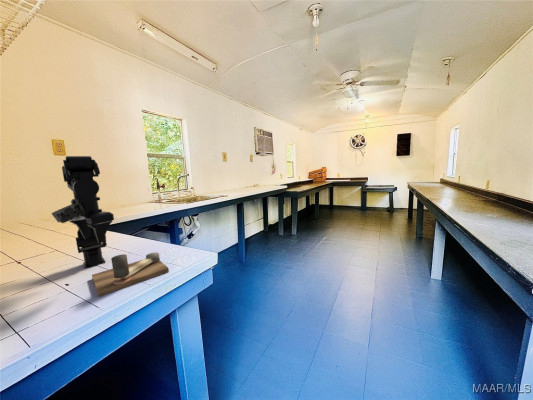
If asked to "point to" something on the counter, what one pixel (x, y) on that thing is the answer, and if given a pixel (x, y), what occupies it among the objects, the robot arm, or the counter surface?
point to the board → (109, 284)
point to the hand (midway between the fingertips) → (93, 240)
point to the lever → (122, 266)
